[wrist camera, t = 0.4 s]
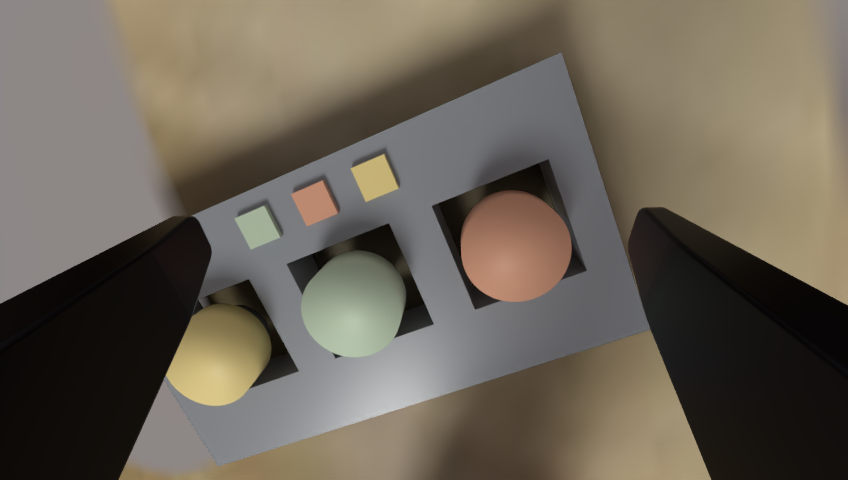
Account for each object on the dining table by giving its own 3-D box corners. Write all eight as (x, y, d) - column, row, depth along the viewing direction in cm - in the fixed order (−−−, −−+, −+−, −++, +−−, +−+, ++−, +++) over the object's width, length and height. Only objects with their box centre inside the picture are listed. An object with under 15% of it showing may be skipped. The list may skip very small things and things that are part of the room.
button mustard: (296, 352, 23) (269, 389, 20) (228, 376, 24) (191, 416, 20) (258, 281, 22) (223, 308, 19) (188, 308, 23) (143, 339, 19)
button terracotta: (565, 255, 20) (585, 280, 17) (479, 286, 21) (483, 316, 18) (535, 171, 19) (551, 180, 16) (446, 206, 20) (444, 222, 17)
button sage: (422, 306, 22) (416, 339, 18) (346, 333, 22) (328, 369, 19) (388, 229, 21) (375, 249, 17) (309, 260, 21) (283, 284, 18)
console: (625, 303, 22) (652, 332, 19) (243, 429, 26) (215, 470, 23) (546, 63, 20) (563, 50, 16) (133, 244, 24) (83, 262, 21)
